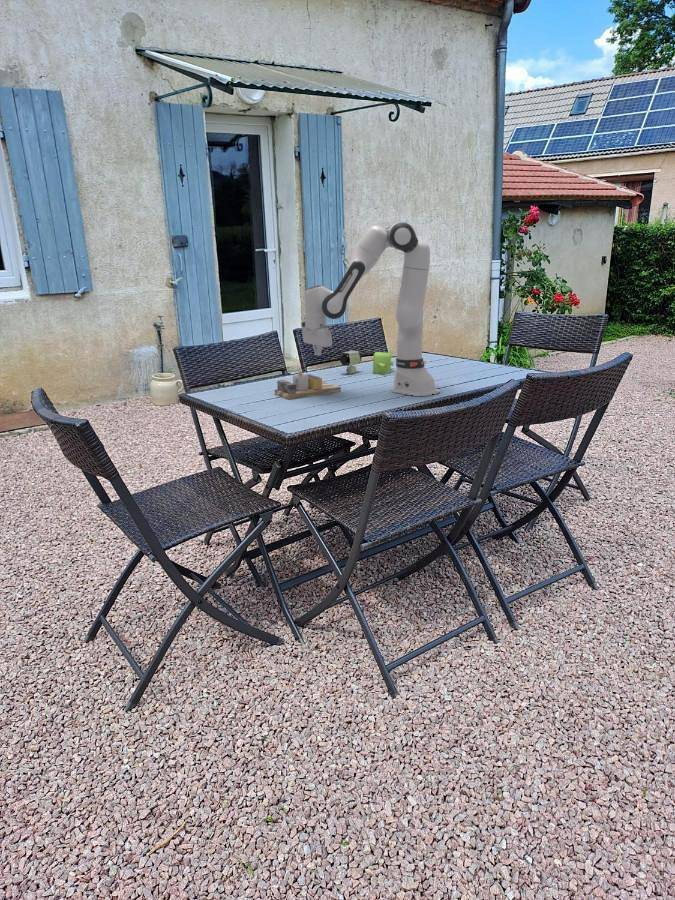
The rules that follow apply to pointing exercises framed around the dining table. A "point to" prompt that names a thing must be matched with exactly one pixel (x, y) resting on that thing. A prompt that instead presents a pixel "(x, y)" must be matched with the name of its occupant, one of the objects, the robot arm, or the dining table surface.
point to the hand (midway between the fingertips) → (318, 355)
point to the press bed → (290, 390)
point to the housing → (301, 381)
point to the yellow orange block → (314, 382)
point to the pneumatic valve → (350, 360)
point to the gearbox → (382, 363)
